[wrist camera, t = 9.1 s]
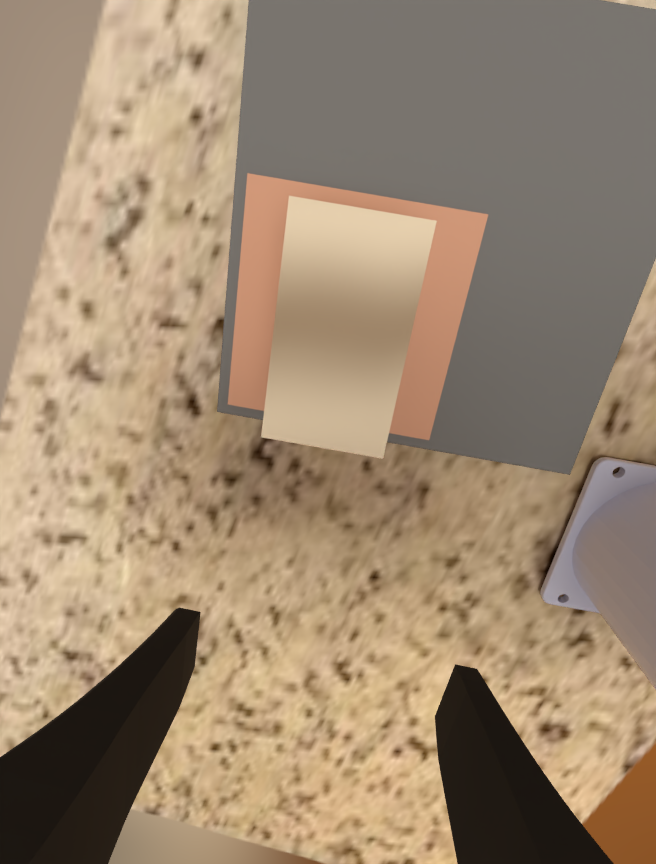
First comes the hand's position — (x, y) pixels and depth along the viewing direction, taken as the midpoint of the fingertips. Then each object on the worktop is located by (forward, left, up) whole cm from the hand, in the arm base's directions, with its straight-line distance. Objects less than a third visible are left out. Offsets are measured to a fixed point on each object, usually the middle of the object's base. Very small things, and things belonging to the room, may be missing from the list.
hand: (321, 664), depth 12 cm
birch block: (+1, -8, -9) cm, 12 cm away
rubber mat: (-2, -12, -9) cm, 15 cm away
